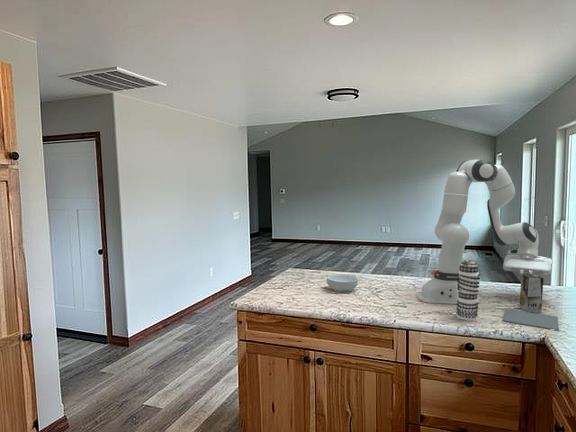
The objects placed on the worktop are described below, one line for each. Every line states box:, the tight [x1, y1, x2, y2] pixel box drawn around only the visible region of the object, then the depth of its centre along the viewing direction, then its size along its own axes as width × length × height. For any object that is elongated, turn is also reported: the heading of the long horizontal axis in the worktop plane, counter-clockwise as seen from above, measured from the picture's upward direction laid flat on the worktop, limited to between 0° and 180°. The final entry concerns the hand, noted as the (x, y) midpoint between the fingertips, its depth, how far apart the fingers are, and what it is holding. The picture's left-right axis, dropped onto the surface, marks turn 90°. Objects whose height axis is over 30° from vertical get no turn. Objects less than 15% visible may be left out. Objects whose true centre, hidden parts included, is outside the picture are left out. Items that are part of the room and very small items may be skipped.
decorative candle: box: [455, 259, 481, 321], centre depth 172 cm, size 9×9×25 cm
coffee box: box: [519, 273, 544, 314], centre depth 183 cm, size 9×6×16 cm
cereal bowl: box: [326, 273, 359, 293], centre depth 216 cm, size 17×17×7 cm
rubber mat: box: [501, 308, 560, 331], centre depth 170 cm, size 18×20×1 cm
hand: (525, 279), depth 191 cm, fingers closed
